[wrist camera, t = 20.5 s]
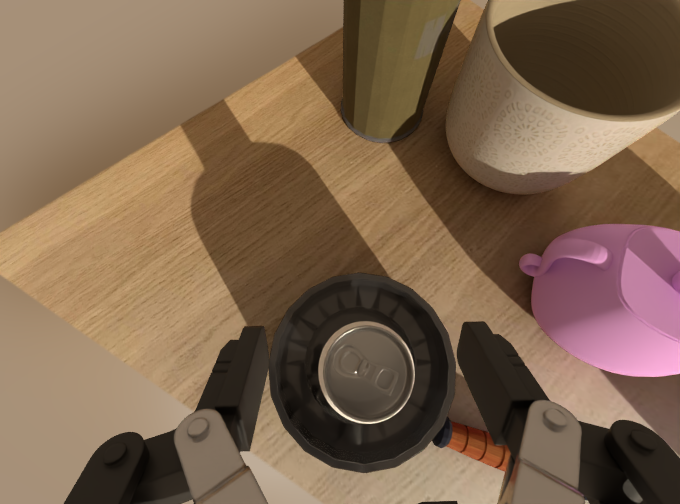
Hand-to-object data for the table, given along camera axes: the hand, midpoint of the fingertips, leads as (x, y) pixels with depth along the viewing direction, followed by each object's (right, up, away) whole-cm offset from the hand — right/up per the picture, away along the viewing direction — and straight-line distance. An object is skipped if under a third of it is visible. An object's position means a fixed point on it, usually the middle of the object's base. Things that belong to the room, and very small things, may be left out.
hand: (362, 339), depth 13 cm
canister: (+5, +22, +28) cm, 36 cm away
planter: (+19, +16, +26) cm, 36 cm away
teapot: (+26, -2, +20) cm, 33 cm away
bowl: (+1, -7, +19) cm, 20 cm away
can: (+1, -7, +18) cm, 20 cm away
